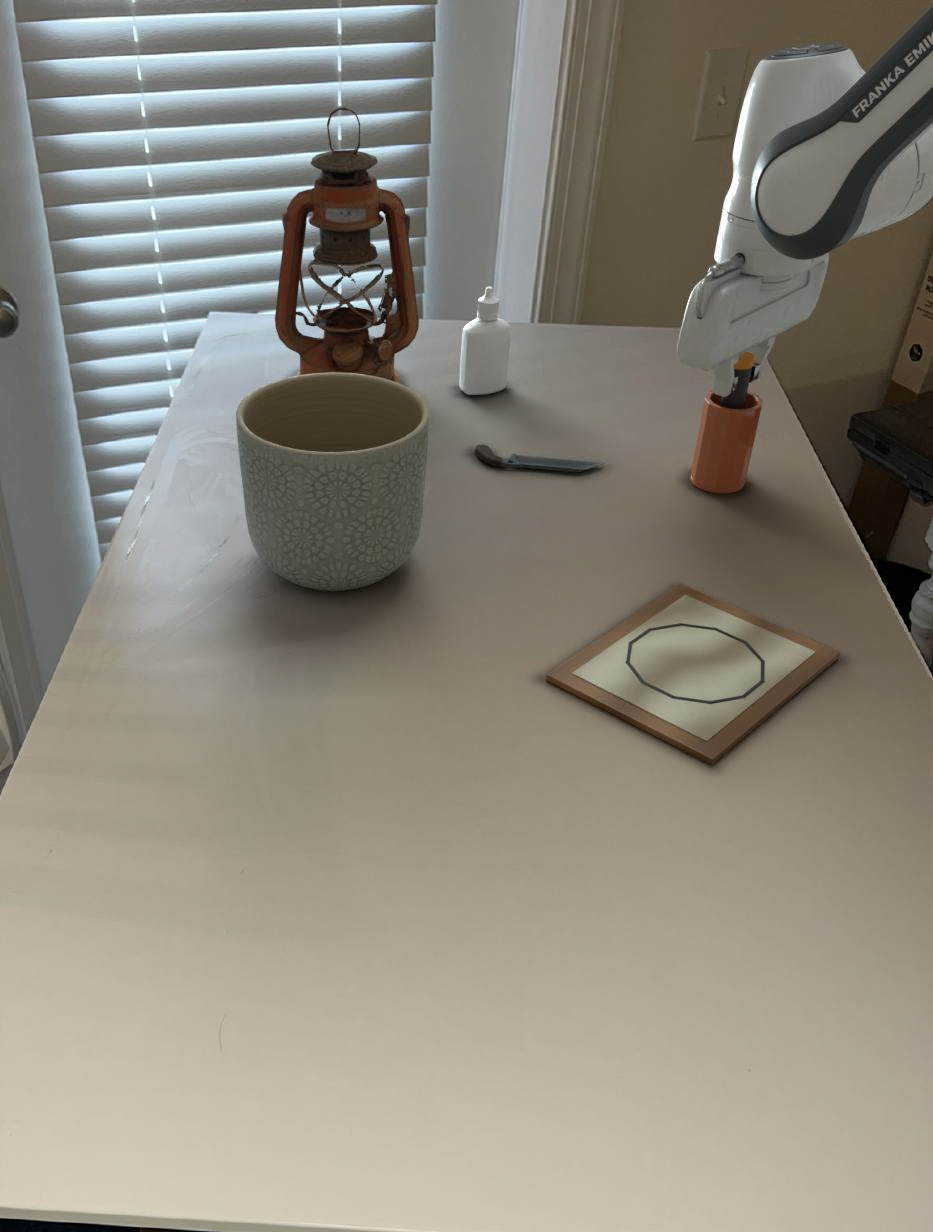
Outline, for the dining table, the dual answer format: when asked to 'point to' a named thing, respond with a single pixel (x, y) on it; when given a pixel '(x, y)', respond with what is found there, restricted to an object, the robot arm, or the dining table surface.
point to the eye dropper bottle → (485, 349)
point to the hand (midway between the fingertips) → (735, 386)
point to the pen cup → (725, 444)
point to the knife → (534, 461)
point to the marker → (740, 382)
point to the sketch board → (694, 671)
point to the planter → (333, 476)
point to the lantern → (345, 220)
